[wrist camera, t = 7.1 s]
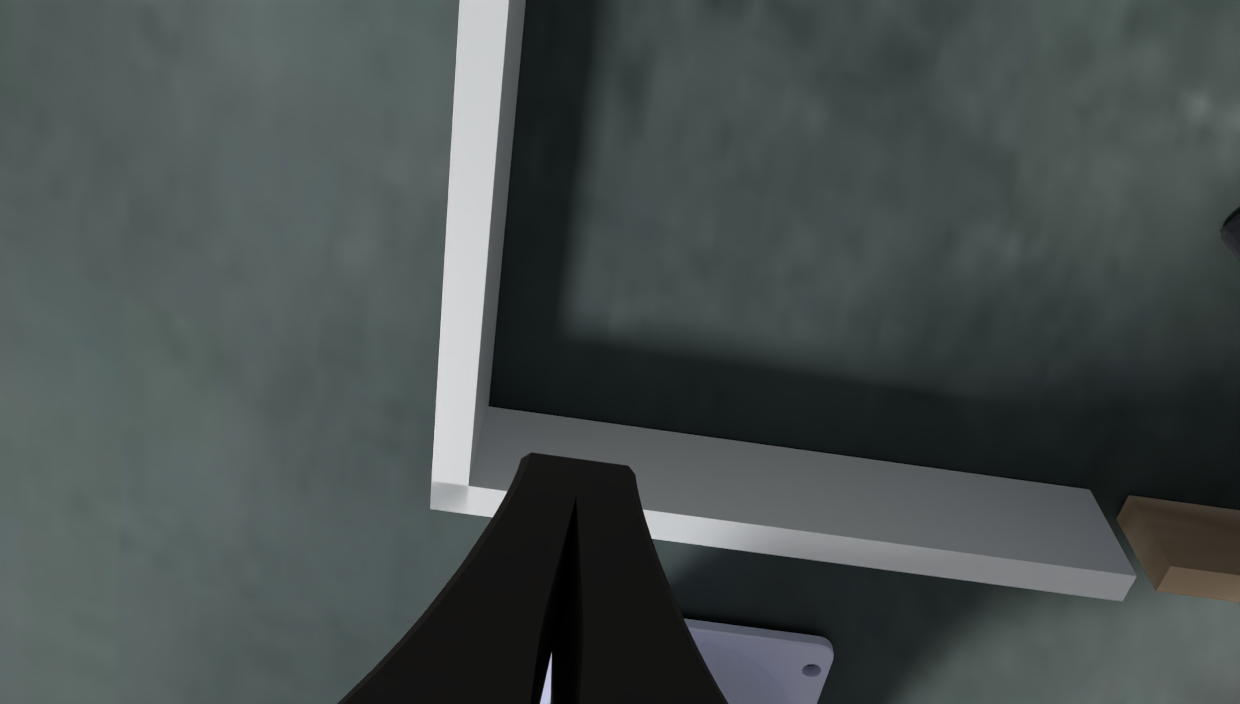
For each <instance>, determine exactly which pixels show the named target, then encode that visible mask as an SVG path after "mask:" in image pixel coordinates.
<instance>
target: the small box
mask: <svg viewBox="0 0 1240 704" xmlns="http://www.w3.org/2000/svg"><path fill="white" fill-rule="evenodd" d="M1220 236H1221V238H1222V240H1223V241H1224V243H1225V244H1226V245H1227V246H1228V247H1229V249H1230V250H1231V251H1232V252H1233V253H1234V255H1235V256H1236V257H1237V258H1238V259H1239V261H1240V213H1239V214H1238V215H1236V216H1235V217H1234V218H1233V219H1231V220H1230V221H1229V222H1228V223H1227V224H1226V225H1225V226H1224V227H1223V228H1222V229H1221V231H1220Z"/></svg>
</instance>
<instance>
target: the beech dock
mask: <svg viewBox="0 0 1240 704" xmlns="http://www.w3.org/2000/svg"><path fill="white" fill-rule="evenodd" d="M1116 520H1117V522H1118V523H1119V525H1120V527H1121V529H1122V531H1123V533H1124V534H1125V536H1126V538H1127V540H1128V542H1129V543H1130V545H1131V547H1132V549H1133V551H1134V552H1135V554H1136V556H1137V558H1138V560H1139V561H1140V563H1141V565H1142V567H1143V569H1144V570H1145V572H1146V574H1147V576H1148V578H1149V579H1150V581H1151V583H1152V585H1153V587H1154V588H1155V590H1156V591H1159V592H1166V593H1173V594H1181V595H1188V596H1196V597H1203V598H1211V599H1218V600H1226V601H1233V602H1240V510H1233V509H1226V508H1219V507H1212V506H1205V505H1197V504H1190V503H1183V502H1176V501H1168V500H1161V499H1154V498H1147V497H1140V496H1132V495H1129V496H1128V498H1127V500H1126V501H1125V503H1124V505H1123V507H1122V509H1121V511H1120V513H1119V515H1118V516H1117V518H1116Z"/></svg>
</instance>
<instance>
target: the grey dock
mask: <svg viewBox="0 0 1240 704" xmlns="http://www.w3.org/2000/svg"><path fill="white" fill-rule="evenodd" d="M525 4H526V0H460V4H459V21H458V38H457V55H456V73H455V90H454V107H453V124H452V141H451V158H450V175H449V192H448V210H447V227H446V244H445V261H444V278H443V295H442V312H441V329H440V346H439V364H438V381H437V398H436V415H435V432H434V449H433V466H432V483H431V501H430V509H435V510H442V511H450V512H457V513H465V514H472V515H479V516H487V517H493V516H494V514H495V513H496V511H497V509H498V507H499V506H500V504H501V502H502V501H503V499H504V497H505V495H506V493H507V491H508V489H509V487H510V485H511V483H512V481H513V479H514V476H515V474H516V472H517V469H518V467H519V464H520V461H521V458H523V457H524V456H526V455H528V454H529V453H531V452H533V453H540V454H547V455H555V456H562V457H569V458H577V459H584V460H591V461H598V462H606V463H613V464H620V465H628V466H629V467H630V468H631V469H632V471H633V472H634V473H635V474H636V482H637V487H638V492H639V496H640V501H641V505H642V508H643V512H644V515H645V519H646V522H647V525H648V528H649V532H650V535H651V538H652V539H659V540H666V541H674V542H681V543H689V544H696V545H704V546H711V547H719V548H726V549H734V550H741V551H749V552H756V553H764V554H771V555H779V556H786V557H794V558H801V559H809V560H816V561H824V562H831V563H839V564H846V565H853V566H861V567H868V568H876V569H883V570H891V571H898V572H906V573H913V574H921V575H928V576H936V577H943V578H951V579H958V580H966V581H973V582H981V583H988V584H996V585H1003V586H1011V587H1018V588H1026V589H1033V590H1041V591H1048V592H1055V593H1063V594H1070V595H1078V596H1085V597H1093V598H1100V599H1108V600H1115V601H1123V600H1124V598H1125V596H1126V594H1127V593H1128V591H1129V589H1130V587H1131V586H1132V584H1133V582H1134V580H1135V579H1136V577H1137V575H1136V574H1135V572H1134V570H1133V568H1132V566H1131V564H1130V563H1129V561H1128V559H1127V557H1126V555H1125V553H1124V552H1123V550H1122V548H1121V546H1120V544H1119V542H1118V540H1117V539H1116V537H1115V535H1114V533H1113V531H1112V529H1111V528H1110V526H1109V524H1108V522H1107V520H1106V518H1105V517H1104V515H1103V513H1102V511H1101V509H1100V507H1099V505H1098V504H1097V502H1096V500H1095V498H1094V496H1093V494H1092V493H1091V491H1090V490H1089V489H1082V488H1075V487H1067V486H1060V485H1053V484H1046V483H1038V482H1031V481H1024V480H1017V479H1010V478H1002V477H995V476H988V475H981V474H973V473H966V472H959V471H952V470H945V469H937V468H930V467H923V466H916V465H908V464H901V463H894V462H887V461H880V460H872V459H865V458H858V457H851V456H843V455H836V454H829V453H822V452H815V451H807V450H800V449H793V448H786V447H778V446H771V445H764V444H757V443H750V442H742V441H735V440H728V439H721V438H713V437H706V436H699V435H692V434H685V433H677V432H670V431H663V430H656V429H648V428H641V427H634V426H627V425H620V424H612V423H605V422H598V421H591V420H583V419H576V418H569V417H562V416H555V415H547V414H540V413H533V412H526V411H518V410H511V409H504V408H497V407H490V406H489V396H490V385H491V374H492V363H493V352H494V341H495V331H496V320H497V309H498V298H499V287H500V276H501V265H502V255H503V244H504V233H505V222H506V211H507V200H508V189H509V178H510V168H511V157H512V146H513V135H514V124H515V113H516V102H517V91H518V81H519V70H520V59H521V48H522V37H523V26H524V15H525Z"/></svg>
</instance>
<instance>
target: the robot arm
mask: <svg viewBox="0 0 1240 704" xmlns="http://www.w3.org/2000/svg"><path fill="white" fill-rule="evenodd" d="M833 658H834V653H833V647H832V644H831V643H830V641H829V640H827V639H826V638H823V637H820V636H814V635H806V634H799V633H791V632H783V631H776V630H768V629H760V628H753V627H745V626H737V625H730V624H722V623H714V622H707V621H699V620H691V619H684V618H683V616H682V614H681V612H680V609H679V607H678V605H677V603H676V600H675V598H674V595H673V593H672V591H671V588H670V586H669V583H668V581H667V578H666V576H665V573H664V571H663V568H662V566H661V563H660V561H659V558H658V555H657V552H656V550H655V547H654V544H653V541H652V538H651V535H650V532H649V528H648V525H647V522H646V519H645V515H644V512H643V508H642V505H641V501H640V496H639V492H638V487H637V482H636V474H635V473H634V472H633V471H632V469H631V468H630V467H629V466H628V465H620V464H613V463H606V462H598V461H591V460H584V459H577V458H569V457H562V456H555V455H547V454H540V453H533V452H531V453H529V454H528V455H526V456H524V457H523V458H521V461H520V464H519V467H518V469H517V472H516V474H515V476H514V479H513V481H512V483H511V485H510V487H509V489H508V491H507V493H506V495H505V497H504V499H503V501H502V502H501V504H500V506H499V507H498V509H497V511H496V513H495V514H494V516H493V518H492V519H491V521H490V523H489V524H488V526H487V527H486V529H485V530H484V532H483V533H482V535H481V536H480V538H479V539H478V541H477V542H476V544H475V545H474V547H473V548H472V550H471V551H470V553H469V554H468V556H467V557H466V559H465V560H464V562H463V563H462V564H461V566H460V567H459V569H458V570H457V571H456V573H455V574H454V575H453V576H452V578H451V579H450V580H449V582H448V583H447V584H446V585H445V587H444V588H443V589H442V591H441V592H440V593H439V594H438V596H437V597H436V598H435V600H434V601H433V602H432V603H431V605H430V606H429V607H428V609H427V610H426V611H425V612H424V613H423V615H422V616H421V617H420V618H419V619H418V621H417V622H416V623H415V624H414V625H413V626H412V628H411V629H410V630H409V631H408V632H407V633H406V634H405V635H404V637H403V638H402V639H401V640H400V641H399V642H398V643H397V644H396V645H395V646H394V647H393V649H392V650H391V651H390V652H389V653H388V654H387V655H386V656H385V657H384V658H383V659H382V660H381V661H380V662H379V663H378V665H377V666H376V667H375V668H374V669H373V670H372V671H371V672H370V673H368V674H367V675H366V676H365V677H364V678H363V679H362V680H361V681H360V682H359V683H358V684H357V685H356V686H355V687H354V688H353V689H352V690H351V691H350V692H349V693H348V694H347V695H346V696H345V697H344V698H343V699H342V700H341V701H340V702H339V703H338V704H817V702H818V699H819V697H820V694H821V691H822V689H823V686H824V683H825V681H826V678H827V675H828V672H829V670H830V667H831V664H832V662H833ZM808 664H815V665H813V666H806V665H808Z"/></svg>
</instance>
